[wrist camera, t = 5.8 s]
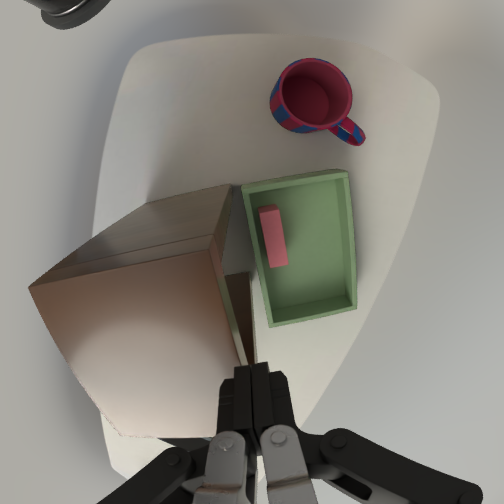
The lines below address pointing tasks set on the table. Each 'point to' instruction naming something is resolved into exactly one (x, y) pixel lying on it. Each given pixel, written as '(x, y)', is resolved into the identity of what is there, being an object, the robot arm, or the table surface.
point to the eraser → (273, 235)
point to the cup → (315, 100)
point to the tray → (306, 245)
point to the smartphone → (188, 442)
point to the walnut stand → (154, 316)
